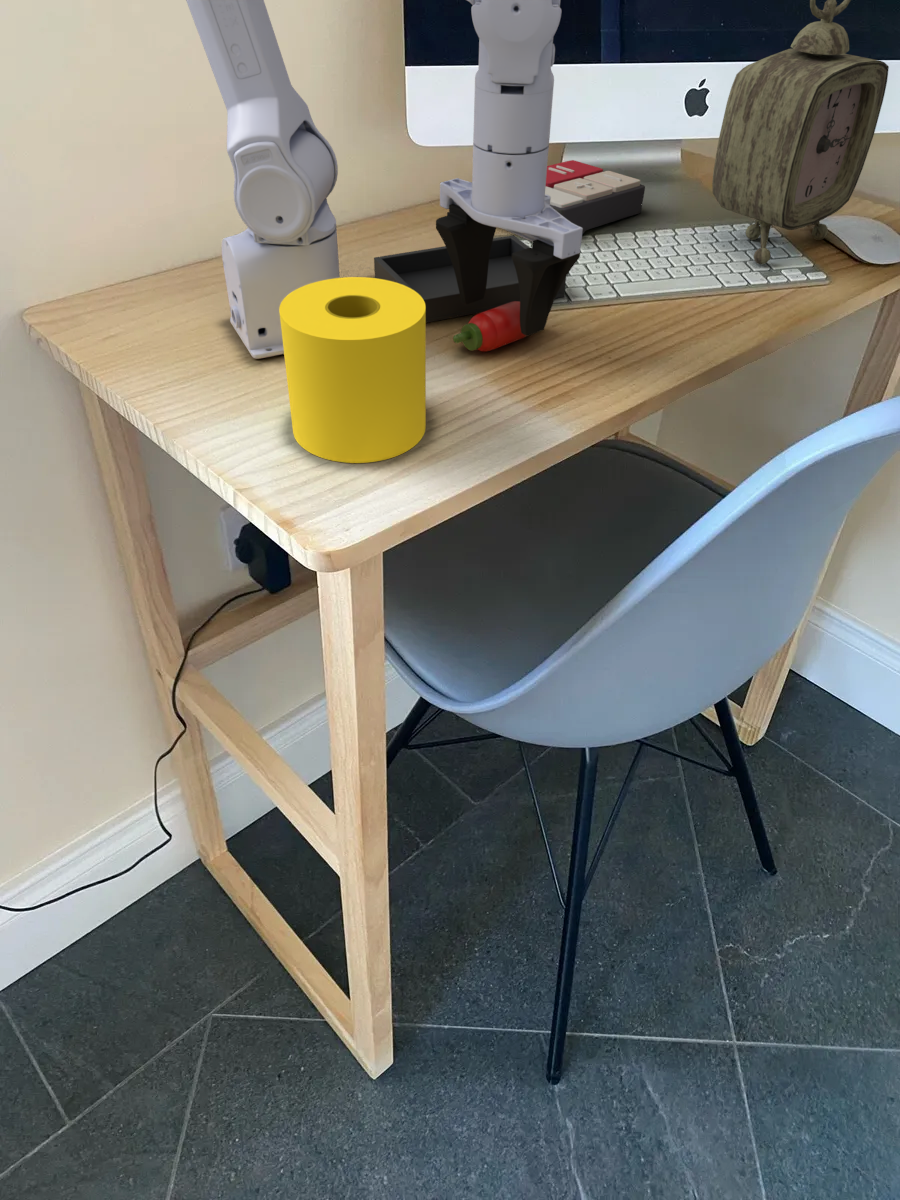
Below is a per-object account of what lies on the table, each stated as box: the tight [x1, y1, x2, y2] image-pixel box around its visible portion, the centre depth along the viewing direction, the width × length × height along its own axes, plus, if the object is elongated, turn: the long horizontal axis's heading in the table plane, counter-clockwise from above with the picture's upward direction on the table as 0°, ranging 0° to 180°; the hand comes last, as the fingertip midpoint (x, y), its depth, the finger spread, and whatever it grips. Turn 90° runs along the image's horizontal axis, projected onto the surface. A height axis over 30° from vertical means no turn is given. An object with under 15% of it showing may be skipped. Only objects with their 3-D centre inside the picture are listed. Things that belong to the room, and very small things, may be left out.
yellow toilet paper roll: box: [279, 276, 427, 464], centre depth 66 cm, size 10×10×9 cm
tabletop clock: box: [711, 0, 890, 265], centre depth 89 cm, size 14×9×25 cm, turn 131°
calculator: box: [545, 159, 646, 235], centre depth 101 cm, size 11×4×15 cm
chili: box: [452, 301, 527, 352], centre depth 78 cm, size 10×3×3 cm, turn 130°
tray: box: [373, 234, 567, 323], centre depth 87 cm, size 15×11×2 cm
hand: (501, 315), depth 78 cm, fingers open, 7 cm apart
